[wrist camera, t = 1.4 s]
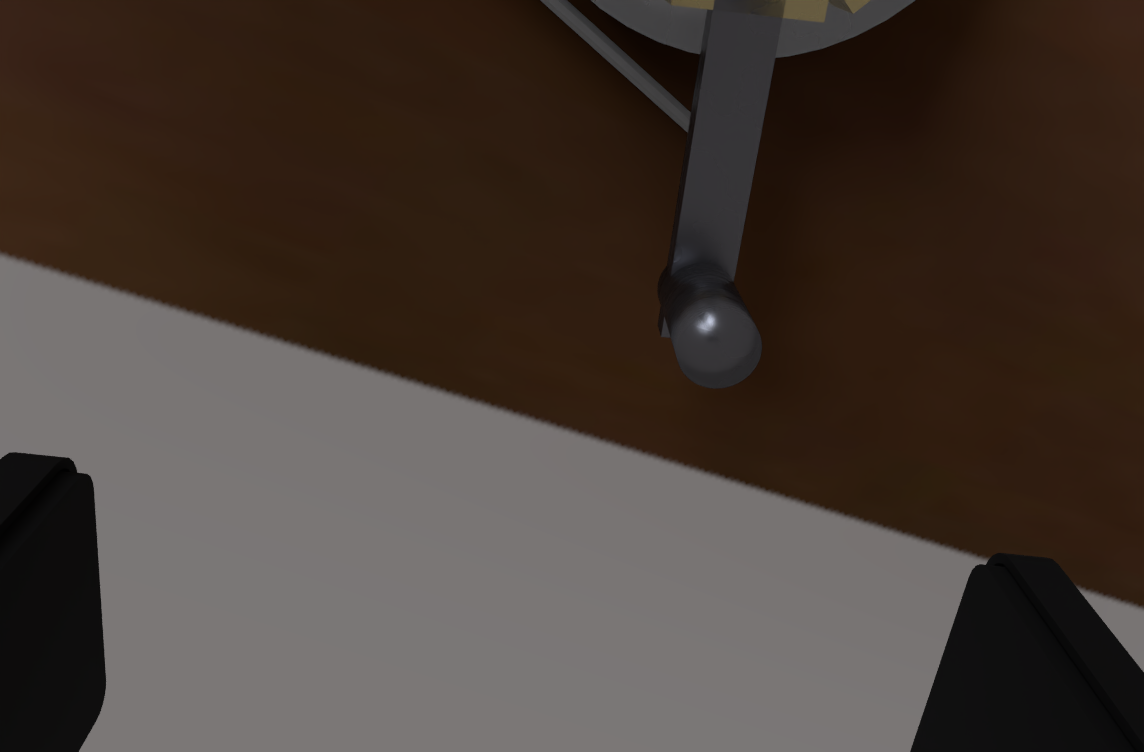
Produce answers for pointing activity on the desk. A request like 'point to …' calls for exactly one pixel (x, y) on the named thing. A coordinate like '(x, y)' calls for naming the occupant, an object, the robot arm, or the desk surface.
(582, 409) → the desk surface
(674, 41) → the plate with blocky chunks
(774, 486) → the desk surface
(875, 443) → the desk surface
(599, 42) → the screwdriver
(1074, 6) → the desk surface
